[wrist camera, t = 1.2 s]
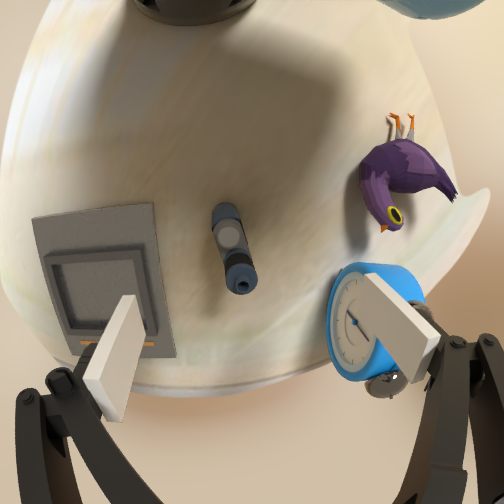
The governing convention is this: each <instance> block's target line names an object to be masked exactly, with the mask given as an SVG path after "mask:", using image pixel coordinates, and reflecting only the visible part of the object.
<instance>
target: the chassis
mask: <svg viewBox="0 0 504 504" xmlns="http://www.w3.org/2000/svg"><path fill="white" fill-rule="evenodd" d="M32 225H33V230H34V235H35V240H36V245H37V249H38V253H39V257H40V262H41V265H42V269H43V273H44V277H45V280H46V284H47V287H48V290H49V294H50V297H51V300H52V303H53V306H54V309H55V312H56V315H57V317H58V320H59V323H60V326H61V328H62V331H63V333H64V336H65V339H66V341H67V343H68V346H69V348H70V351H71V353H72V355H77V356H81V355H82V353H83V351H84V349H85V348H86V347H87V346H88V345H89V344H90V343H99V341H100V339H101V337H102V335H103V333H104V331H105V329H106V327H107V325H108V323H109V321H110V319H111V317H112V315H113V313H114V311H115V309H116V307H117V305H118V304H119V302H120V300H121V298H122V296H123V295H136V299H137V303H138V307H139V311H140V315H141V319H142V322H143V326H144V330H145V333H146V336H145V339H144V343H143V346H142V350H141V353H140V357H139V358H176V355H177V353H176V349H175V344H174V339H173V335H172V330H171V325H170V319H169V314H168V309H167V303H166V298H165V292H164V286H163V280H162V273H161V267H160V260H159V253H158V245H157V237H156V229H155V220H154V211H153V203H143V204H133V205H124V206H114V207H106V208H97V209H89V210H82V211H74V212H67V213H60V214H53V215H47V216H40V217H35V218H33V219H32Z"/></svg>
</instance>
